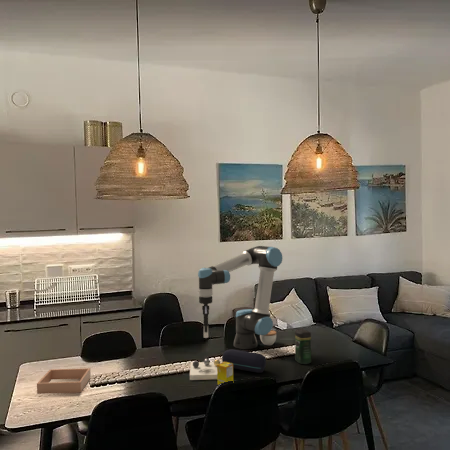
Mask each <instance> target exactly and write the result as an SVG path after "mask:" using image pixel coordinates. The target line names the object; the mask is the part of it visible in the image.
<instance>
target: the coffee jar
mask: <svg viewBox="0 0 450 450" xmlns="http://www.w3.org/2000/svg"><path fill="white" fill-rule="evenodd" d="M294 332H295V333H294V338H295V351H294V358H295V359H294V361H296V362H297V363H298V364H300V365H308V364H310V363H312V347H311V346H312V345H311V343H312V342H311V341H312V333H311V331H308V330H306V329H304V328H298V329H296V330H295V331H294Z"/></svg>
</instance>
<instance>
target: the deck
mask: <svg viewBox="0 0 450 450" xmlns="http://www.w3.org/2000/svg"><path fill="white" fill-rule="evenodd" d="M198 362H199V366H198V367H194V366H193V362H190V364H189V365H190V367H189V368H190V369H189V381H200V380H202V381H203V380H206V381H207V380H217V366H215V365H214V361H210V364H209V365H205V364H204V361H202V362H200V361H198ZM220 363H222V361H220Z"/></svg>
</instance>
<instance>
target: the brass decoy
mask: <svg viewBox="0 0 450 450" xmlns="http://www.w3.org/2000/svg"><path fill="white" fill-rule="evenodd" d="M213 362H214V365H215V366H217V364H220V362H221V361H220V360H219V359H215V360H214V361H213Z"/></svg>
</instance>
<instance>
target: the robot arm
mask: <svg viewBox="0 0 450 450" xmlns="http://www.w3.org/2000/svg"><path fill="white" fill-rule="evenodd" d="M282 263H283V253H282V251H281V250H280V249H279V248H278V247H275V246H267V245H266V246H264V245H258V246H253V247H251V248H249V249H245V250H244V251H242V253H240V254H238V255H236V256H233V257H231V258H229V259H226V260H224V261H221V262H219V263H216V264H214V265H212V266H209V267H202V268H200V269H198V273H197V277H198V290H197V292H198V295H199V296H198V303H199V304H202V306H201V308H202V315H203V325H202V327H203V338H205V339H207V338H209V326H210V323H209V314H210V305H209V304H212V303H213V285H214V286H215V285H221V284H227V283H230V281H231V274H230V273H231V272H234V271H235V270H236V271H237V270H238V269H239V268H243V267H244V266H252V265H258V269H259V270H260V271H259V276H258V282H257V283H258V284H257V291H256V296H255V297H256V298H255V305H254V308H253V309H251V308H250V309H249V308H248V309H240V310H237V311H236V312H235V333H236V334H235V336H234V340H233V347H234V348H235V349H238V350H250V349H256V348H257V347H258V340H257V337H256V335H257V336H260V335H266V334H268V333H269V332H270V331H271V330H272V329H273V326H274V322H273V321H274V320H273V319H272V318H271V312H270V311H269V309H270V302H271V295H272V288H273V282H274V276H275V272H276V271H277V270H278V267H280V265H281V264H282ZM255 334H256V335H255Z"/></svg>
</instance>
